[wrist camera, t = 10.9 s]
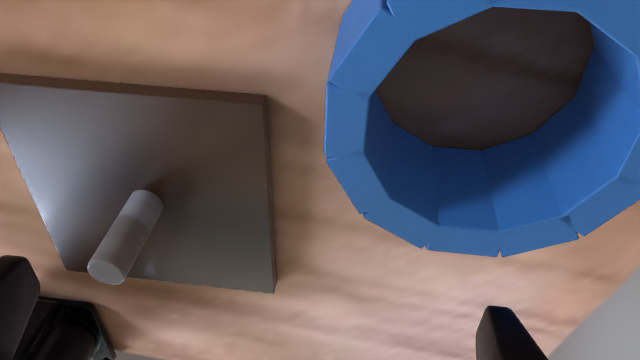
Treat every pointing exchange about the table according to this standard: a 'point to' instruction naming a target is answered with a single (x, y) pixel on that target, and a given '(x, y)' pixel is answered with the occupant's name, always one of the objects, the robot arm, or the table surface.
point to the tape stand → (147, 179)
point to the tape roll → (495, 162)
